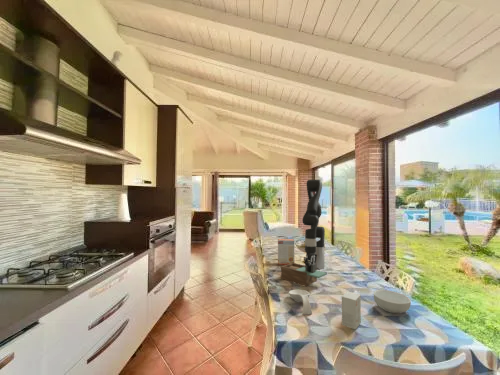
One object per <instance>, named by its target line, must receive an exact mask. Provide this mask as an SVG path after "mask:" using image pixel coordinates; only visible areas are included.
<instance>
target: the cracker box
mask: <svg viewBox="0 0 500 375" xmlns="http://www.w3.org/2000/svg"><path fill="white" fill-rule="evenodd" d="M290 263H295V239H289V238H281V239H280V238H278V239H277V265H281V266H284V265H287V264H290Z"/></svg>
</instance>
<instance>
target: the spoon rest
mask: <svg viewBox="0 0 500 375" xmlns="http://www.w3.org/2000/svg"><path fill="white" fill-rule="evenodd" d="M288 295H289V296H290V298H291V299H292V300H293V301H295V302H298V303H302V315H303V316H305V315H308V316H309V315H312V314H313V310H312V306H311V302H310V300H309V298H310V295H311V294H310V292H309V291H307V290H304V289H293V290H292V289H291V290H289V291H288Z"/></svg>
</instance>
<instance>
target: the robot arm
mask: <svg viewBox="0 0 500 375" xmlns="http://www.w3.org/2000/svg"><path fill="white" fill-rule="evenodd" d="M322 190H323V182H322V180H321V179H308V180H307V181H306V191H307V198H308V201H307V204H306V205H307V206H306V211H305V213H304V214H303V216H302V221H301V222H302V224H303V225H304V226H310V228H307V229H305V232H304V234H305V235H304V252H305V253H306V255H305V256H303V261H304V266H305V265H307V271H309V272H310V271H311V263H312V264H316V269H317V270H323V269H325V266H326V264H325V261H326V260H325V258H326V257H325V235H326V232H325V227H323V226H318V225H319V220H320V218H321V216H322V206H321V205H322V204H321V203H320V202H319V201H320V198H321V195H322ZM317 239H318V240H317Z"/></svg>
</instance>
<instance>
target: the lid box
mask: <svg viewBox="0 0 500 375" xmlns="http://www.w3.org/2000/svg"><path fill="white" fill-rule="evenodd" d="M302 267H305V264H300V263H296V262H294V263H290V264H287V265H281V266H280V268H281V269H280V279H282V280H285V281H287V282H291V283H294V284H297V285H299V286H303V287H308V286H310V285H311V284H313V283H316V282H318V281H317V280H318V278H316V277H312V276H309V275H307V273H306V272H302V271H299V270H296V269H299V268H302ZM316 270H317V271H318V269H316Z"/></svg>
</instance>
